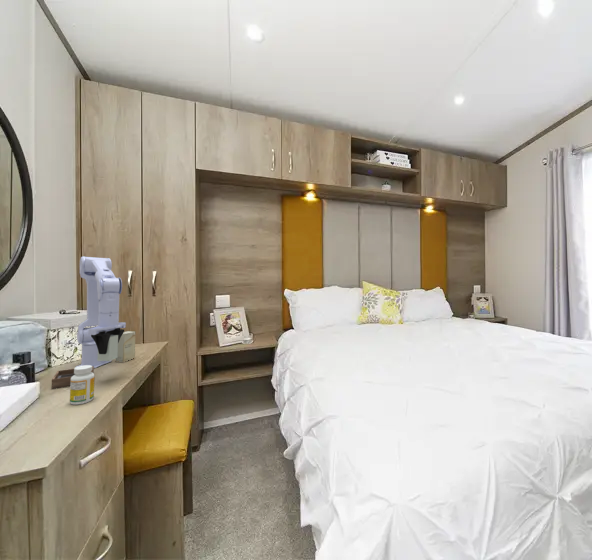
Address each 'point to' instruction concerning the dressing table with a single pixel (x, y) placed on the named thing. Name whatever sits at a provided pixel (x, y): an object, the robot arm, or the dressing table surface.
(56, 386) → the bore box
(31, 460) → the dressing table surface
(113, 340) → the sage peg
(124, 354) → the skincare box
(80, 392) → the supplement bottle
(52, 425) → the dressing table surface
